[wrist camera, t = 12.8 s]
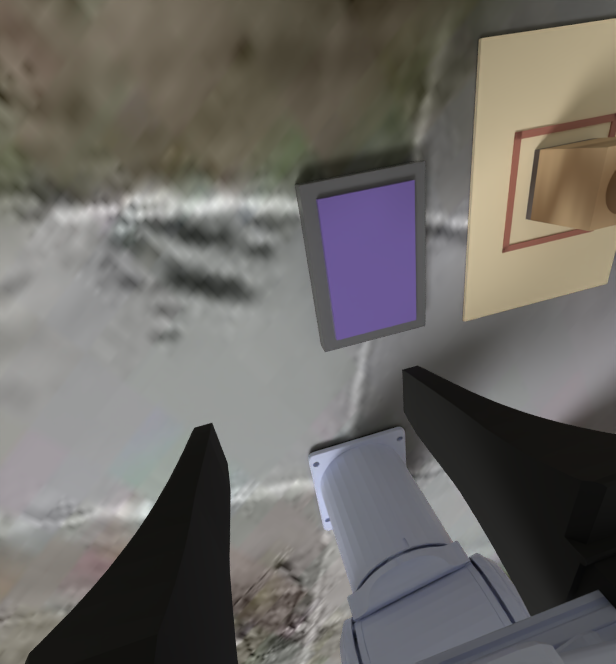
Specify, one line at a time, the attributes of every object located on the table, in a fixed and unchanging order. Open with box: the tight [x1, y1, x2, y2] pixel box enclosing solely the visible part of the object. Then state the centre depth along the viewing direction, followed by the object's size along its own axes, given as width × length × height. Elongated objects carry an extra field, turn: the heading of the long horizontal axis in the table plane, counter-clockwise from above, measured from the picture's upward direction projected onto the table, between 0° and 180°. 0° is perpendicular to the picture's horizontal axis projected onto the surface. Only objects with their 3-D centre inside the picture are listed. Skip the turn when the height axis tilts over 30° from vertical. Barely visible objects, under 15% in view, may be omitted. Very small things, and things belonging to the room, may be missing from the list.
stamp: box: [526, 137, 616, 231], centre depth 19 cm, size 4×4×6 cm
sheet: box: [463, 18, 616, 322], centre depth 22 cm, size 16×12×1 cm
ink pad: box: [295, 161, 425, 352], centre depth 21 cm, size 10×7×1 cm
